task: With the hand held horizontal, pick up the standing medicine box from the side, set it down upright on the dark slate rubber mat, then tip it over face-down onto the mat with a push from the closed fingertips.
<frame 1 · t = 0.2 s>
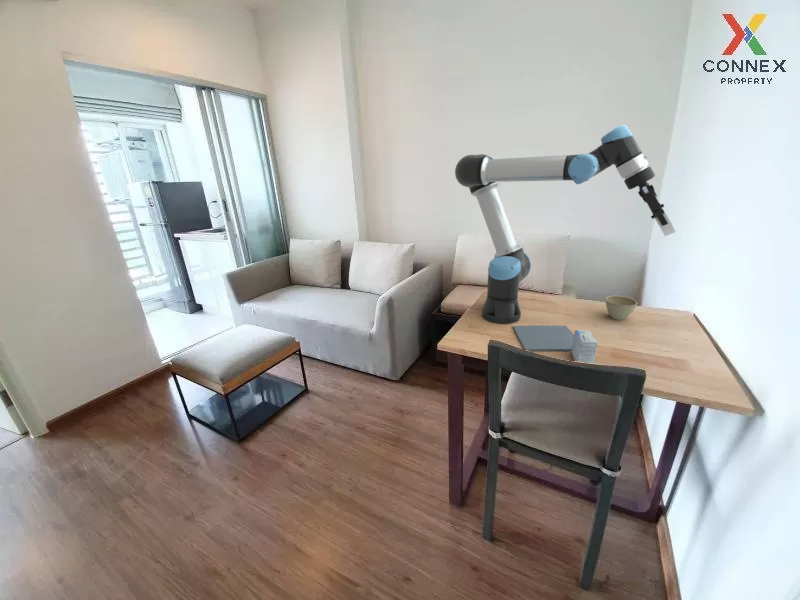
hand: (668, 230, 105), 35 cm above the table, tool tilted 35°, fingers open, 13 cm apart
slate mat: (546, 338, 115), on the table
medicine box: (581, 361, 102), on the table
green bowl: (617, 317, 128), on the table
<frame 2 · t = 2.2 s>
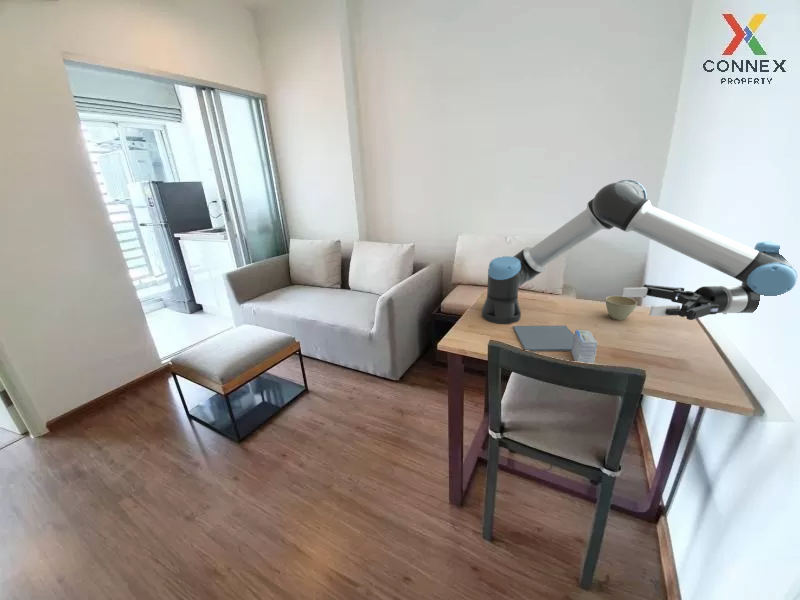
hand: (636, 300, 93), 20 cm above the table, tool horizontal, fingers open, 13 cm apart
nothing on the table moved.
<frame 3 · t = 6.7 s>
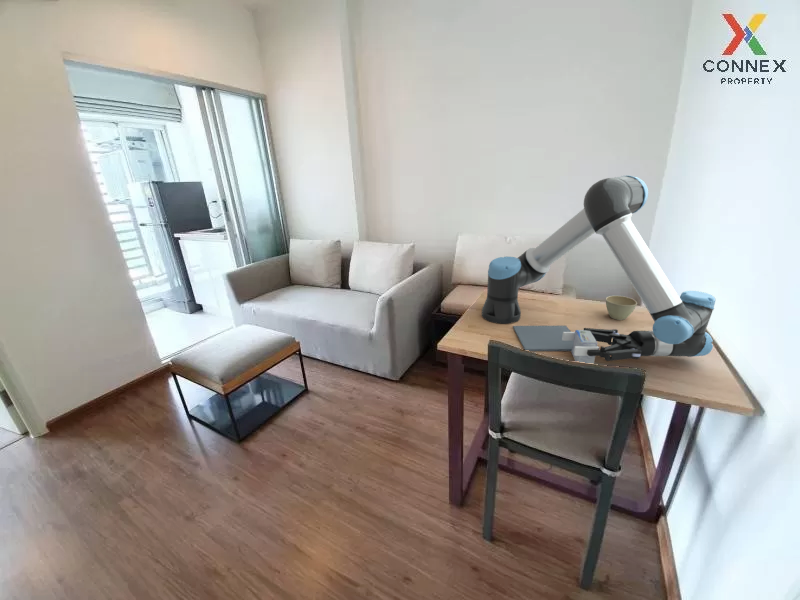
hand: (568, 343, 100), 6 cm above the table, tool horizontal, fingers closed on medicine box, 8 cm apart
medicine box: (581, 361, 101), on the table, touching gripper
everything else where it was.
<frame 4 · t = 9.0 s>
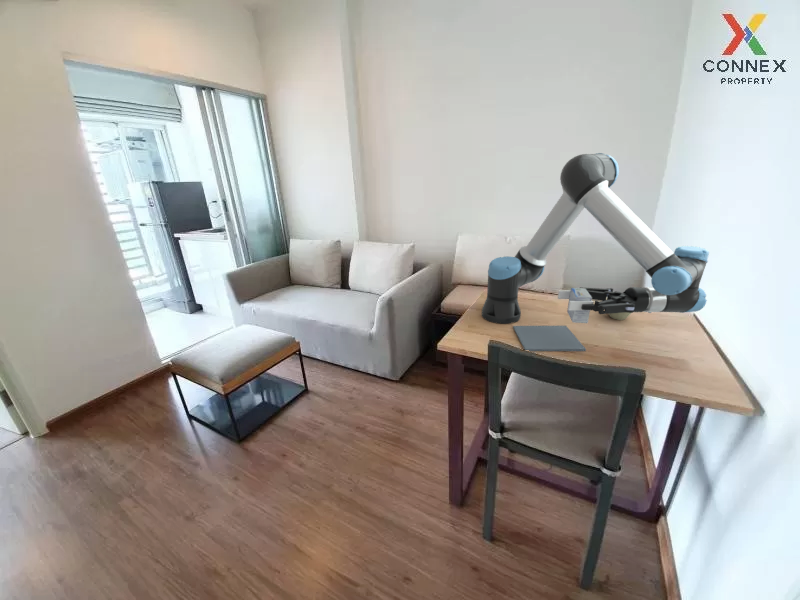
hand: (563, 300, 101), 18 cm above the table, tool horizontal, fingers closed on medicine box, 8 cm apart
medicine box: (576, 318, 103), point 11 cm above the table, touching gripper
everything else where it was.
when the fingers open (8 cm above the table, at t = 11.6 s): medicine box stays where it is, resting on slate mat.
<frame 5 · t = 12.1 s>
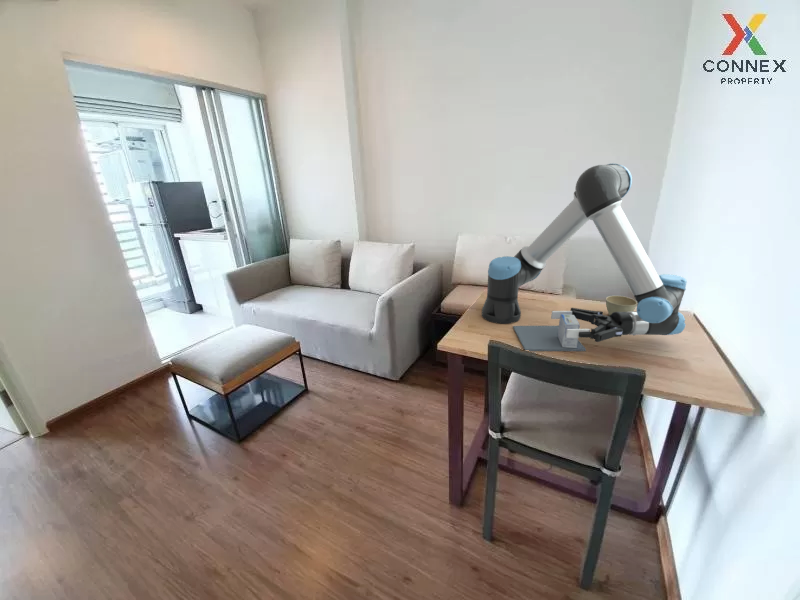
hand: (558, 323, 108), 8 cm above the table, tool horizontal, fingers open, 13 cm apart
medicine box: (566, 342, 110), point 1 cm above the table, touching slate mat
everything else where it was.
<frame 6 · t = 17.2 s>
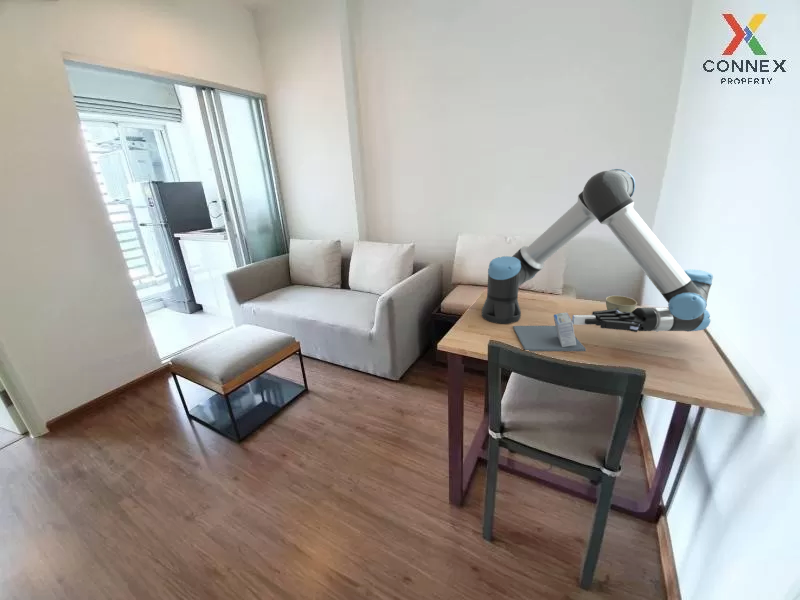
hand: (573, 319, 107), 9 cm above the table, tool horizontal, fingers closed
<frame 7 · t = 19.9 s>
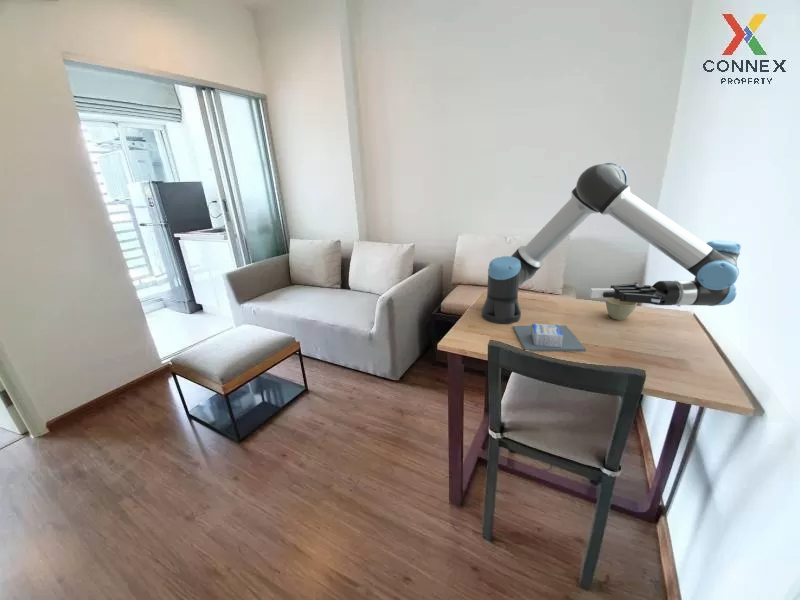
hand: (590, 293, 102), 19 cm above the table, tool horizontal, fingers closed
medicine box: (560, 336, 110), point 3 cm above the table, touching slate mat
everything else where it was.
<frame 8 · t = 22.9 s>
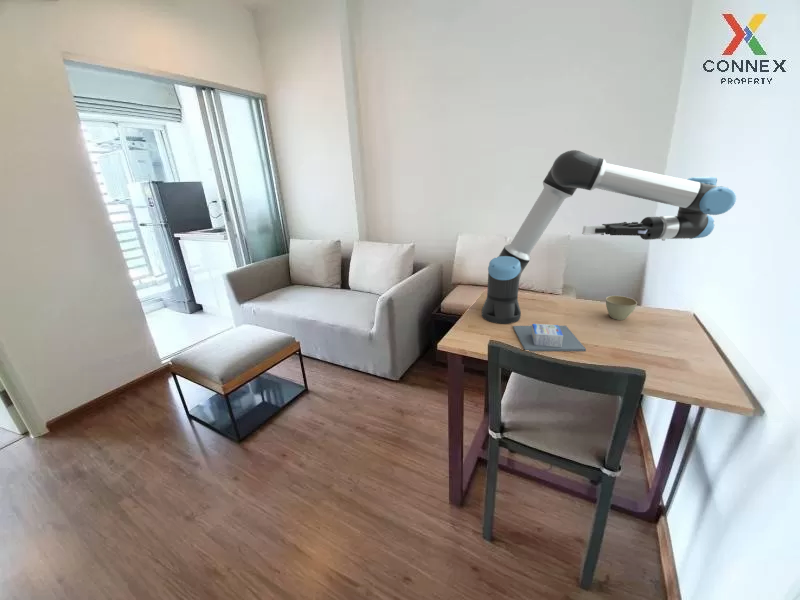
hand: (583, 230, 113), 35 cm above the table, tool horizontal, fingers closed
nothing on the table moved.
at the end: medicine box tilted 90°; medicine box inside the target area on the slate mat (4.8 cm from its centre), point 3.0 cm above the slate mat's base; the gripper is holding nothing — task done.
